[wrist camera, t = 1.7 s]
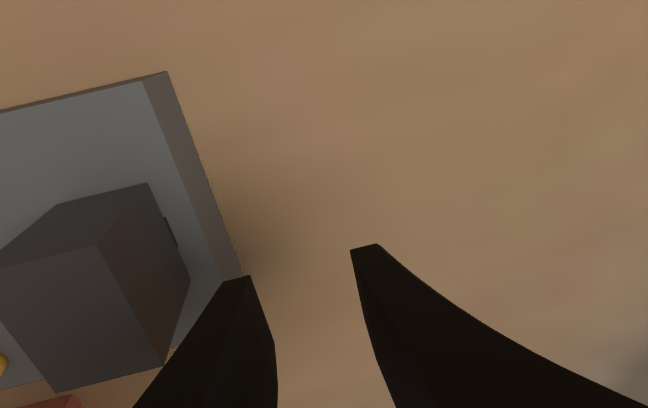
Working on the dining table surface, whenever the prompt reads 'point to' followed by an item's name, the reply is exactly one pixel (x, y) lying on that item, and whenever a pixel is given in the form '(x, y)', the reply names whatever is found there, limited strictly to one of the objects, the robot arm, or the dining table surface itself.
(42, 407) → the block
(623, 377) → the dining table surface
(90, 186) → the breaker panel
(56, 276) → the switch
